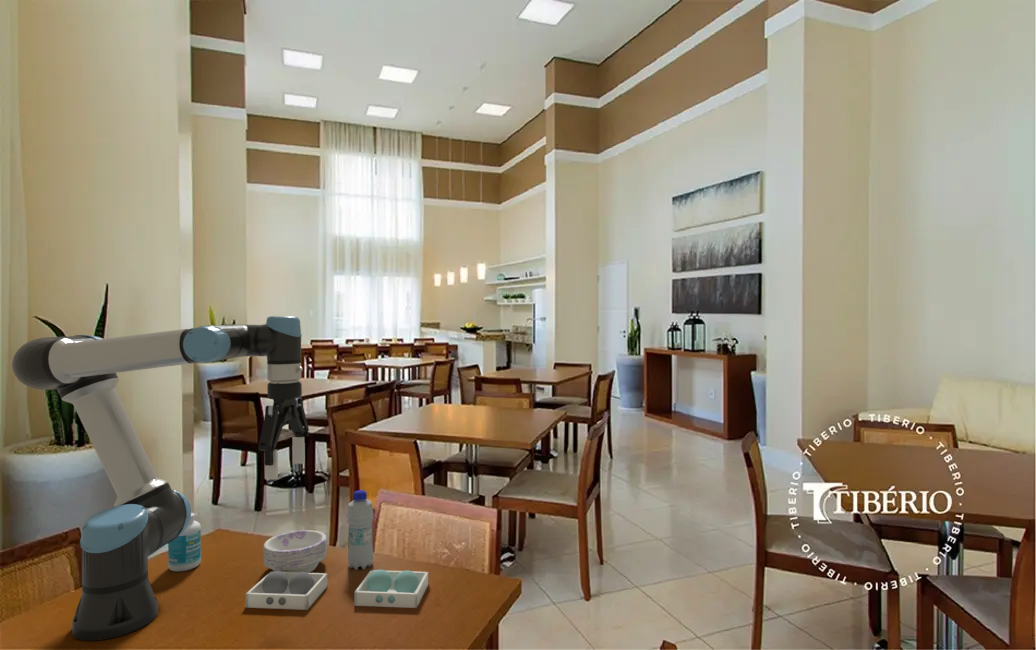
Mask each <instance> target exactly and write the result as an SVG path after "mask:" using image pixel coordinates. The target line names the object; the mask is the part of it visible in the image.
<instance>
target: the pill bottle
mask: <svg viewBox="0 0 1036 650" xmlns="http://www.w3.org/2000/svg"><path fill="white" fill-rule="evenodd" d="M195 517H196V515H195V513H194V512H191V518H190V521H189V524H188V526H187V528H186V529H185V530H184V531H183V532H182V533H181V534H180V535H179V536H178V537H177V538H176V539H175V540H174V541H172V542H170V543H168V544H167V545H168V547H167V548H168V549H167V554H168V555H167V556H168V557H167V559H168V560H167V562H168V563H167V564H168V565H167V567H168V569H169V570H170V571H172V572H185V571H189V570H192V569H195V568H197V567H198V566H199V565H201V562H202V543H201V542H202V533H201V532H202V528H201V526H202V525H201V523H200V522H199V521H197V520H195V519H196V518H195Z"/></svg>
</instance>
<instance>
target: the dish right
mask: <svg viewBox="0 0 1036 650" xmlns="http://www.w3.org/2000/svg"><path fill="white" fill-rule="evenodd" d="M376 570H377V569H370V571H369V572H368V573H367V574H366V576H365V577H364V579H363V580H362V581H361V583H360V584H359V585H358V587H357V588H356V589H355V591H354V592H353V593H354V594H353V595H354V596H353V597H354V606H357V607H383V608H405V609H406V608H410V609H413V608H414V609H417V608H418V606H419V605H420V602H421V601H422V598H423V596H424V594H425V592H426V590H427V588H428V586H429V571H416V570H415V571H412V572H414V573H415V574H416V576H417V578H418V587H417V589H416V591H415V592H414V593H403V592H396V590H395V587H394V582H395V578H396V576H397V575H398V574H399V573H400V572H402V571H403V570H386V571H387V572H388V573H389V574H390V576H391V586H390V588H389V590H388V591H387V592H374V591H369V589H368V586H367V581H368V578H369V576H370V574H371V573H372V572H374V571H376Z"/></svg>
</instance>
